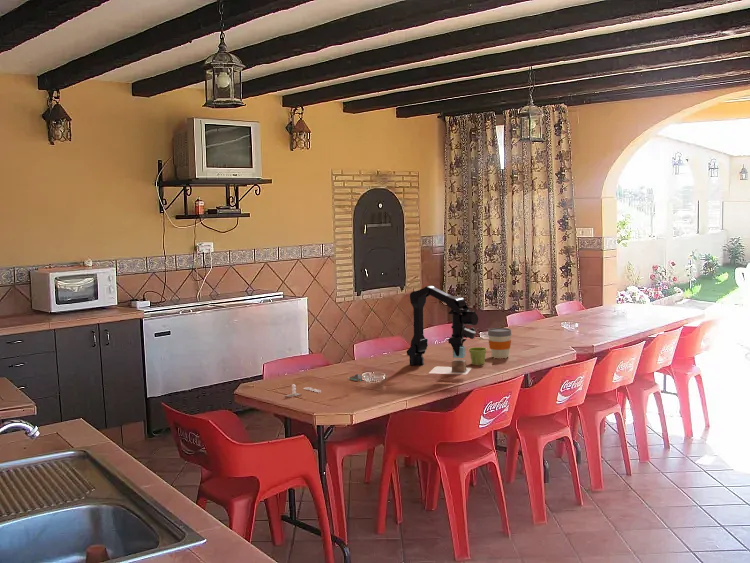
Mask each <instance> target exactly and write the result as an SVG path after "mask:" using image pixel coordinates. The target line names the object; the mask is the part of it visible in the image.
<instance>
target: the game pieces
mask: <svg viewBox="0 0 750 563" xmlns="http://www.w3.org/2000/svg"><path fill="white" fill-rule="evenodd" d="M362 377H363V376H362V375H361V374H358V373H356V374H355V375H353V376H350V377H349V376H348V377H347V379H348V380H350V381H355V382H358V381H359V382H363V381H362ZM296 387H297V386H296V384H294V383H293V384H291V391H292V392H291V393H289V394H286V395H284V397H285V398H288V397H289V399H292V397H293V398H296V397H295V396H297V397H301V396H302V395H303V394H302V393H298V392H297V391H296V390H297V388H296ZM302 389H303V390H306V391H309V390H310V392H313V391H314V393H317V392H318V393H319V392H320V393H322V390H321V389H317V388H313V387H311V386H310V387H303V388H302ZM320 393H319V394H320ZM300 395H301V396H300Z"/></svg>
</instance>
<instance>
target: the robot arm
mask: <svg viewBox="0 0 750 563" xmlns="http://www.w3.org/2000/svg"><path fill="white" fill-rule="evenodd" d="M428 297H433V298H435V299H436V300H438V301H441V303H442V302H443V303H445V304H446V306H447V307H448V308H449V309H450V310H449V311H448V312H447V313H448V315H451V329H452V331H451V332H452V334H451V336H450V337H449V338H448V344H450V345H451V347H452V350H453V349H454V351H455V354H456V356H459V352H460V346H464V343H465V342H466V341H467V338H469V339H470V340H474V339H475V336H476V334H477V331H476V330H475V328H474V327H471V328H466V325H469V326H476V325H477V324H478V323H479V316H478V314H477V313H476V310H470V308H469V306H468V304H467V302H466V300H465V299H464V297H461V296H456V295H451V294H449V293H446V292H445V291H443V290H441V289H439V288H437V287H435V286H433V285H426V286H425V287H423V288H420V289H418V290H414V291H413V290H412V291H411V292H410V293H409V301H410V305H411V306H412V309H413V335H412V338H411V340H410V346H409V348H408V349H407V350H406V356H408V357H409V366H412V367H413V366H415V367H418V366H419V367H420V366H424V365H425V362H424V360H425V359H424V356H423V355H424V354H425V353H426V350H427V347H429V344H428V341H429V340H428V338H426V337H425V336H424V306H426V303H427V298H428Z"/></svg>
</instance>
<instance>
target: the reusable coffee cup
mask: <svg viewBox="0 0 750 563" xmlns="http://www.w3.org/2000/svg"><path fill="white" fill-rule="evenodd" d="M487 336H488V347H489V349H490V353H491V358H492V357H494V358H493V359H495V358H505V359H508V358H509V354H510V349H511V343H512V339H511V337H512V329H511V328H507V327H494V328H488V329H487ZM507 357H508V358H507Z"/></svg>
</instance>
